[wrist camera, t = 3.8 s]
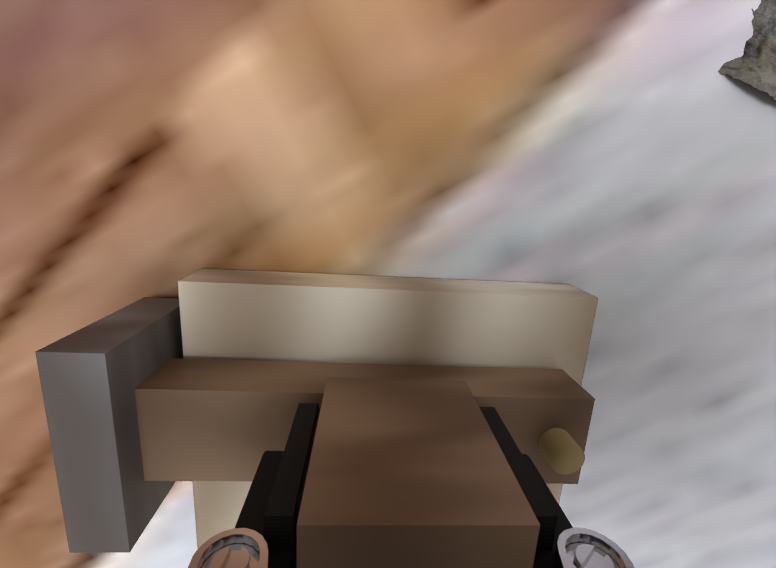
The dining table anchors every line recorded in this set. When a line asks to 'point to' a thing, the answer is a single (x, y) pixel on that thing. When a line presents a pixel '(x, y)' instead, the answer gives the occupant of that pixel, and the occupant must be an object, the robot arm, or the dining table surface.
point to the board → (374, 333)
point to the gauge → (330, 448)
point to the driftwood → (758, 52)
